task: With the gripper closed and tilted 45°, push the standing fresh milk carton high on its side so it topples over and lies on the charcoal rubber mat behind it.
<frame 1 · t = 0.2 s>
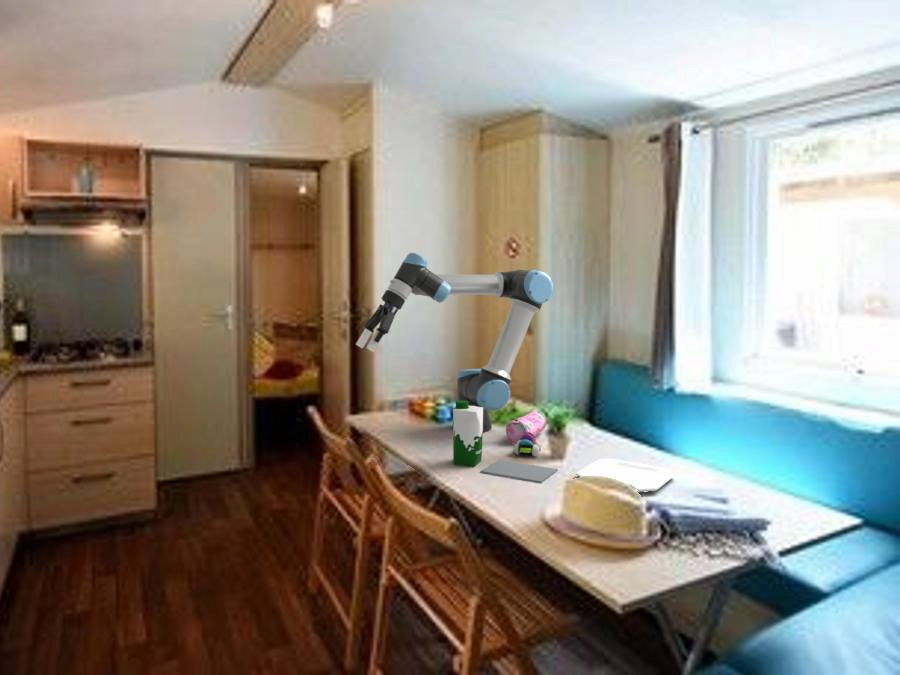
hand: (364, 348, 237), 35 cm above the table, tool tilted 35°, fingers open, 13 cm apart
topple mat: (519, 471, 218), on the table
toy car: (527, 454, 238), on the table
plate: (625, 480, 212), on the table
pencil case: (526, 439, 258), on the table
fresh milk carton: (467, 463, 226), on the table
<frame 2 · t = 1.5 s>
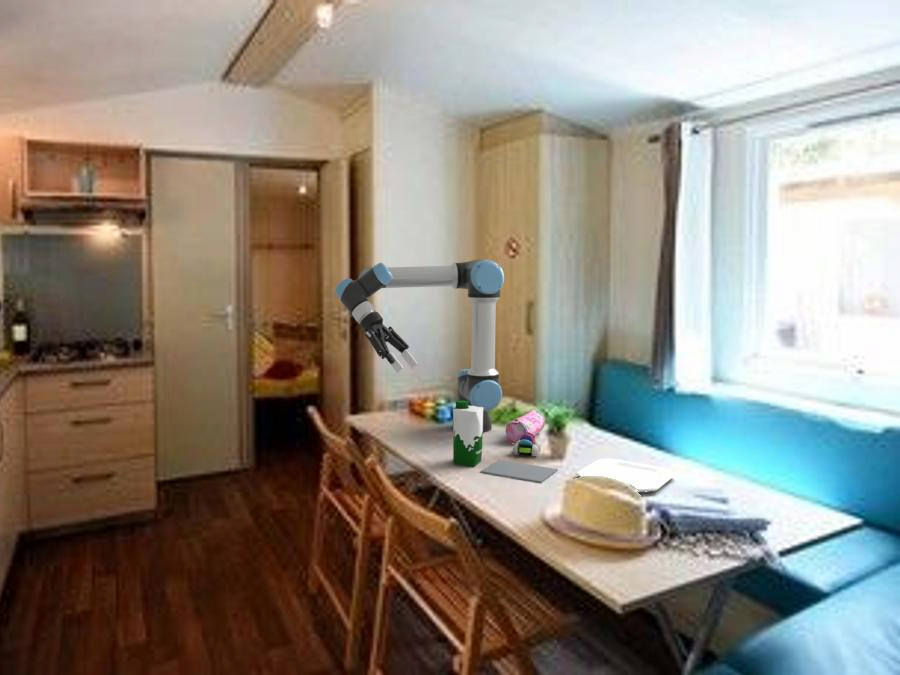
hand: (407, 368, 234), 29 cm above the table, tool tilted 45°, fingers open, 9 cm apart
nothing on the table moved.
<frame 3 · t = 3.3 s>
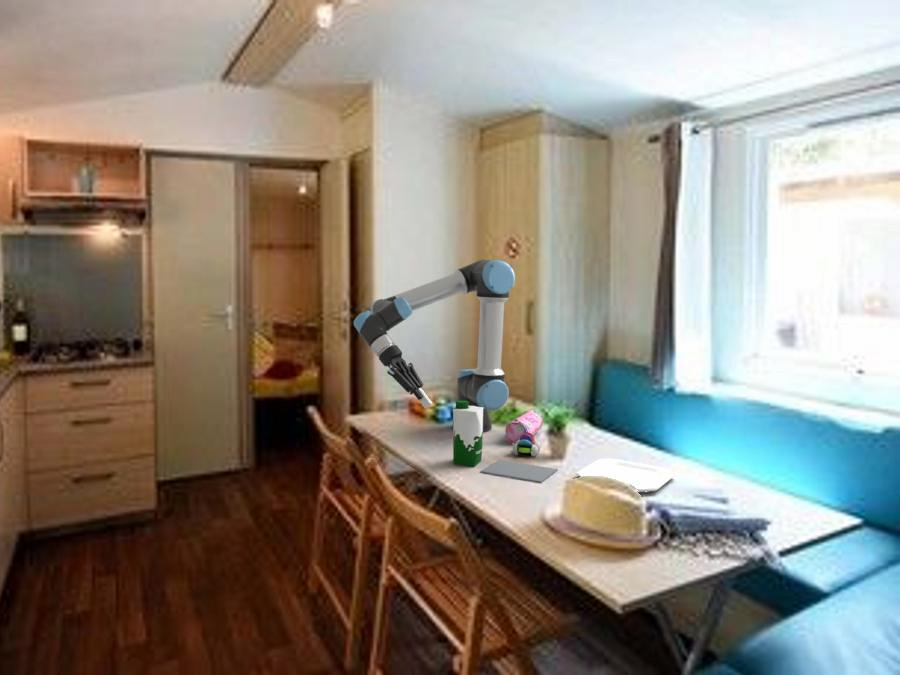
hand: (428, 405, 230), 17 cm above the table, tool tilted 45°, fingers closed
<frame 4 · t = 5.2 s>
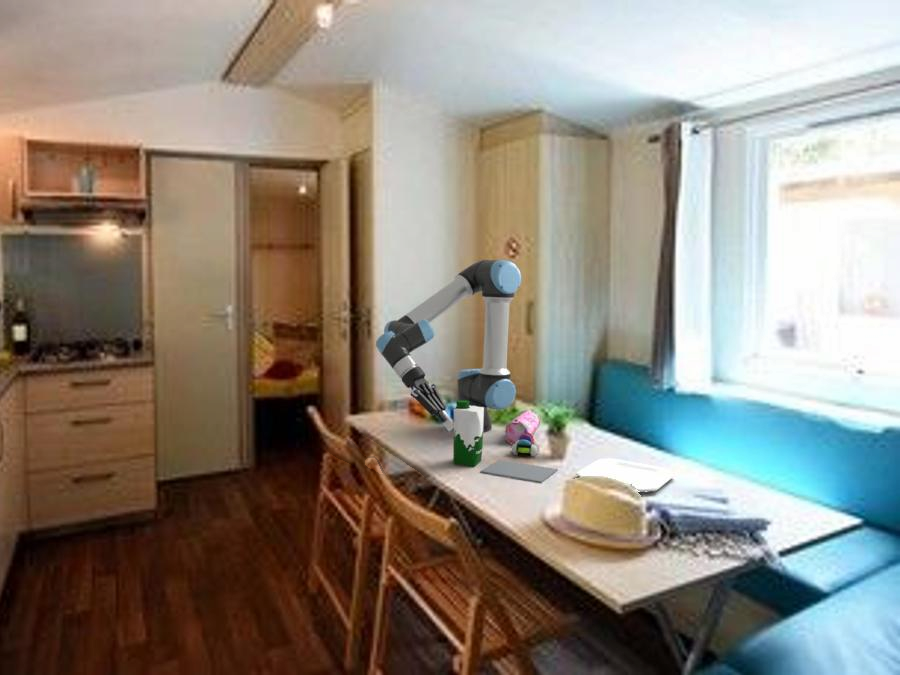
hand: (452, 428, 227), 11 cm above the table, tool tilted 45°, fingers closed
fresh milk carton: (467, 463, 226), on the table, touching gripper
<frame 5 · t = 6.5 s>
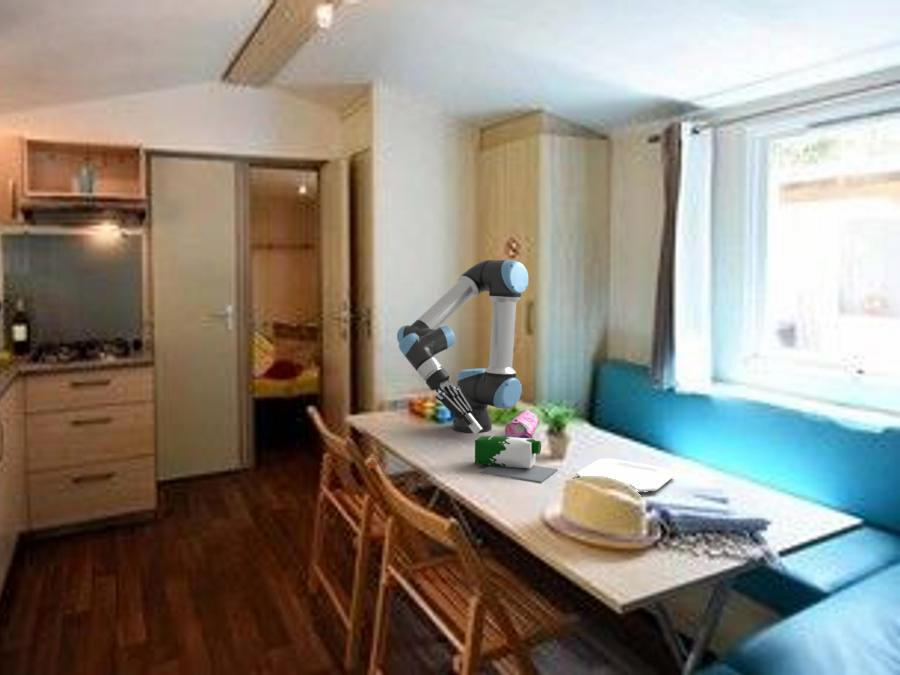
hand: (478, 431, 223), 11 cm above the table, tool tilted 45°, fingers closed
fresh milk carton: (477, 449, 225), point 5 cm above the table, touching topple mat
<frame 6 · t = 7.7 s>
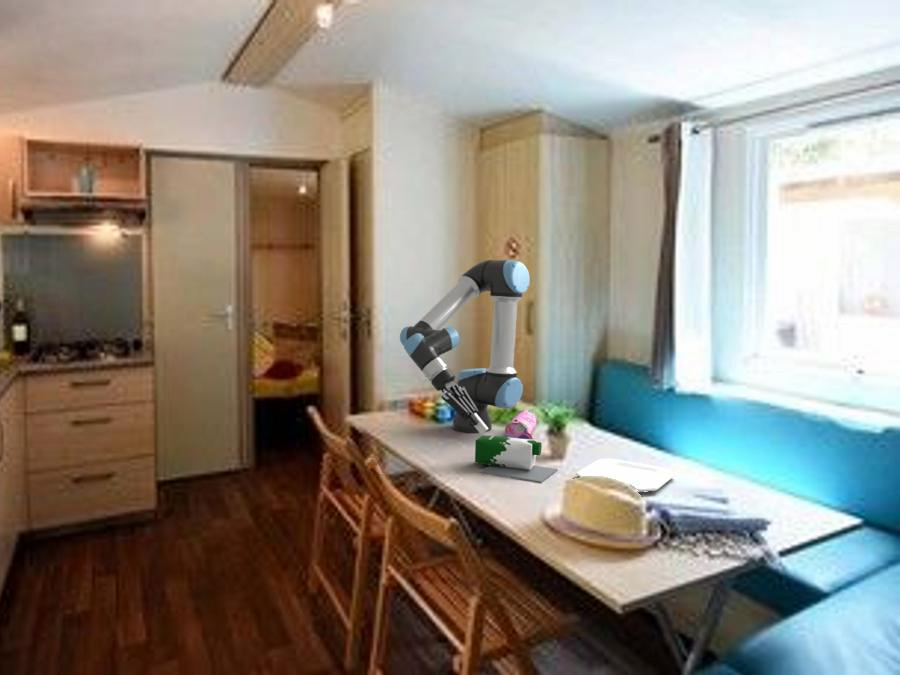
hand: (484, 431, 222), 11 cm above the table, tool tilted 45°, fingers closed
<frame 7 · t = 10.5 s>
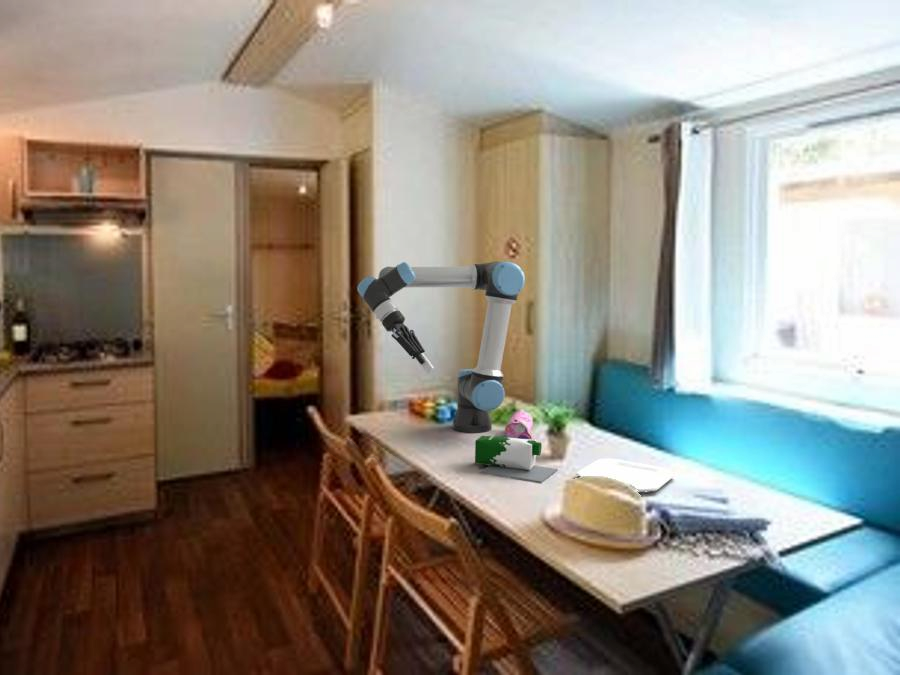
hand: (430, 370, 235), 28 cm above the table, tool tilted 45°, fingers closed
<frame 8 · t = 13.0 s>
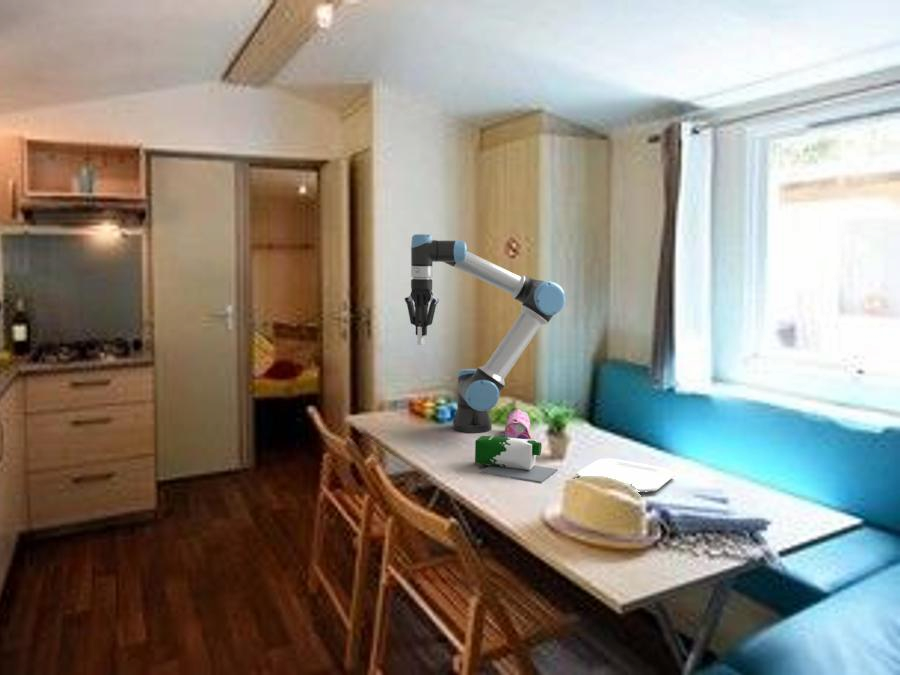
hand: (421, 344, 251), 34 cm above the table, tool pointing down, fingers closed
at the end: fresh milk carton tilted 90°; fresh milk carton touching topple mat; fresh milk carton inside the target area (4.7 cm from its centre), point 5.0 cm above the table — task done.
